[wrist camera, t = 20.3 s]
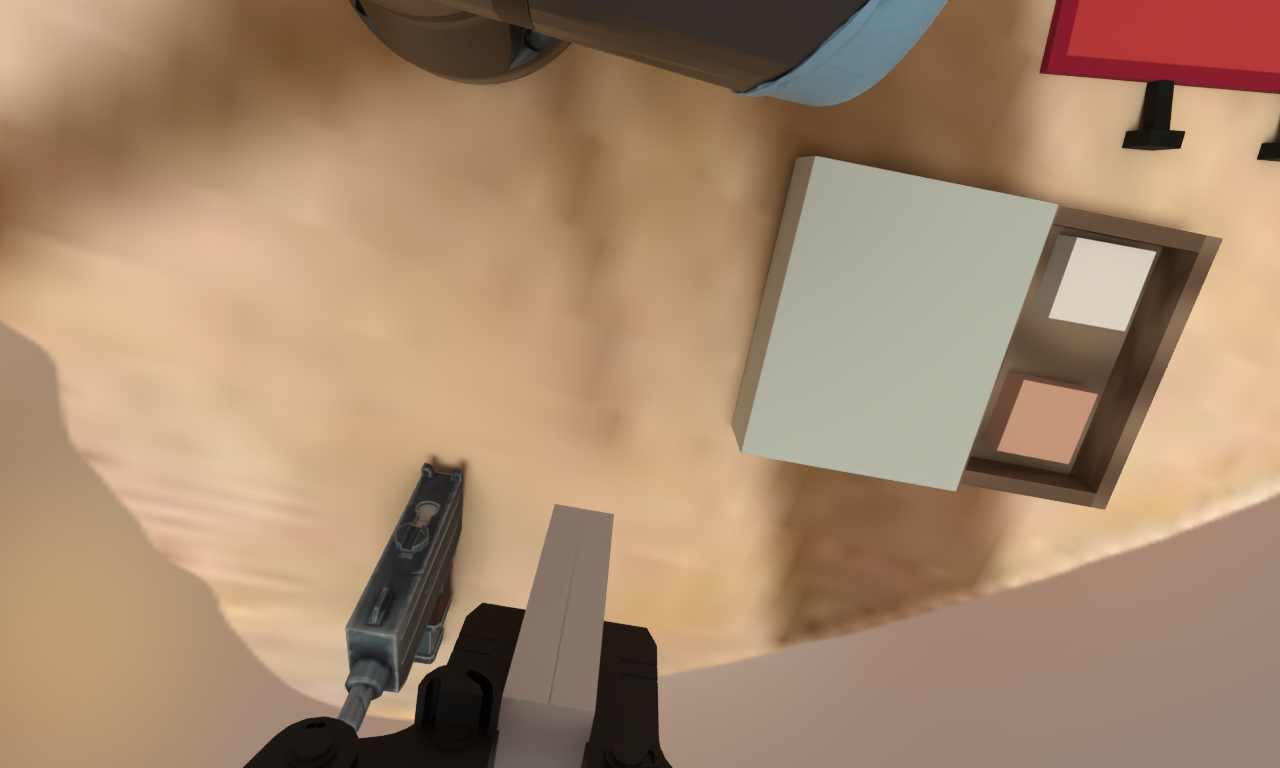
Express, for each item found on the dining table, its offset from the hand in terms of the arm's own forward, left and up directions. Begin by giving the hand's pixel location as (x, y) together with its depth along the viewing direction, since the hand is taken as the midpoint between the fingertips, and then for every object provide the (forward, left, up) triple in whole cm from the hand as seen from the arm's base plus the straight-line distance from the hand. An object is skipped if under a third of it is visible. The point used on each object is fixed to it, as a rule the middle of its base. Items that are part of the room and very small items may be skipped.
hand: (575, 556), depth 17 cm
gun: (+20, -10, -30) cm, 37 cm away
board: (-3, +16, -29) cm, 34 cm away
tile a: (-8, +29, -27) cm, 40 cm away
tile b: (+1, +29, -27) cm, 39 cm away
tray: (-3, +29, -29) cm, 41 cm away
